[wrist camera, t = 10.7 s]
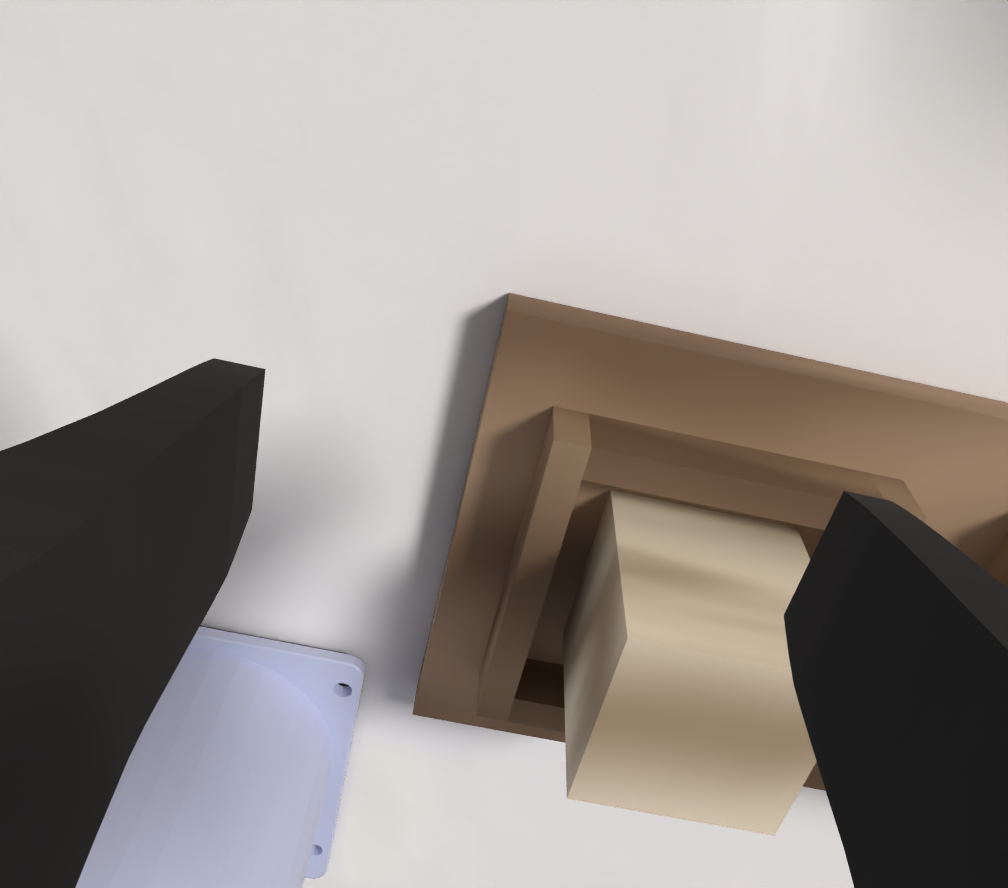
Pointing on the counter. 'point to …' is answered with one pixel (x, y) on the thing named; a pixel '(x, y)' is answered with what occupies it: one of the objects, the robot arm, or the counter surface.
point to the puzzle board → (701, 403)
